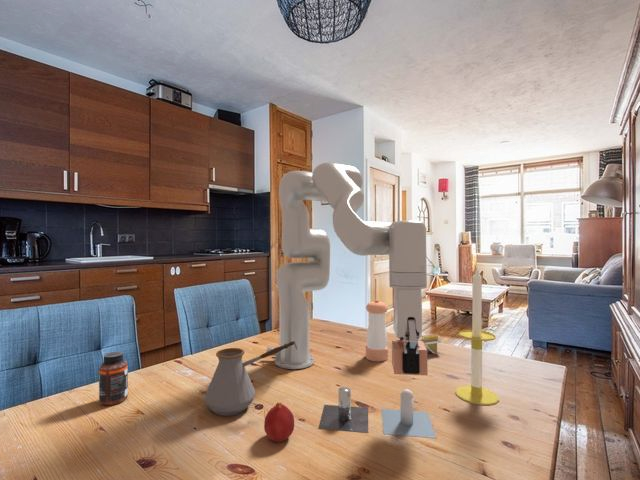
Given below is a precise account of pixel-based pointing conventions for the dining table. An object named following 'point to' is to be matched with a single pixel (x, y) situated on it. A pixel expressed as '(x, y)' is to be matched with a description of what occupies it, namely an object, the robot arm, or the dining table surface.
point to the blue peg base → (407, 419)
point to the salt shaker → (376, 332)
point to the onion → (279, 423)
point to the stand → (344, 415)
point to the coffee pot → (233, 381)
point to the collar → (397, 357)
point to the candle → (476, 351)
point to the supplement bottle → (113, 379)
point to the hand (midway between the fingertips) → (408, 365)
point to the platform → (430, 343)
